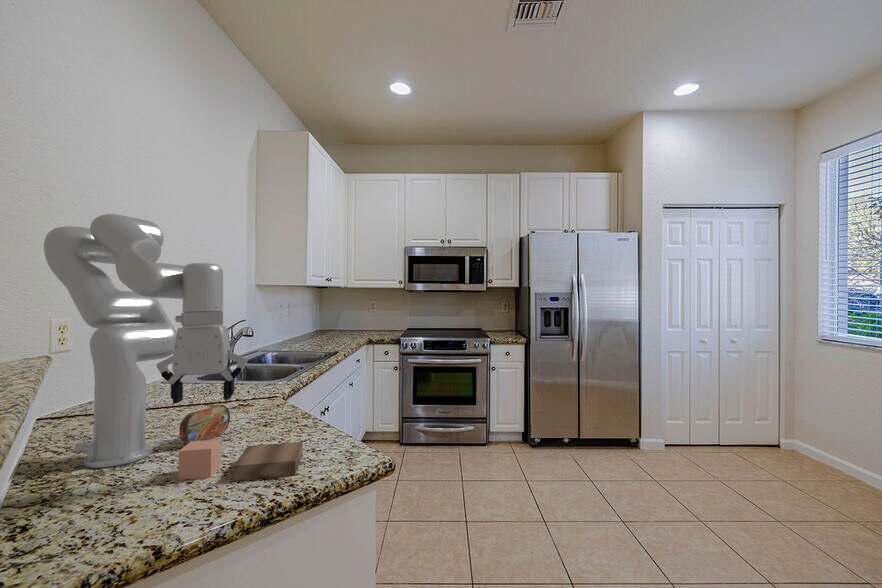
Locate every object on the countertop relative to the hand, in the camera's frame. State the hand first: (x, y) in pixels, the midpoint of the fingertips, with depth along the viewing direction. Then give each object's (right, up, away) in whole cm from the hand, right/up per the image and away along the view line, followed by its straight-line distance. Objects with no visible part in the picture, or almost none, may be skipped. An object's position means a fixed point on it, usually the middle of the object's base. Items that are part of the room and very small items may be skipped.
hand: (203, 400), depth 84 cm
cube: (0, -16, 0) cm, 15 cm away
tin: (-12, -17, +21) cm, 30 cm away
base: (+13, -15, +3) cm, 21 cm away
